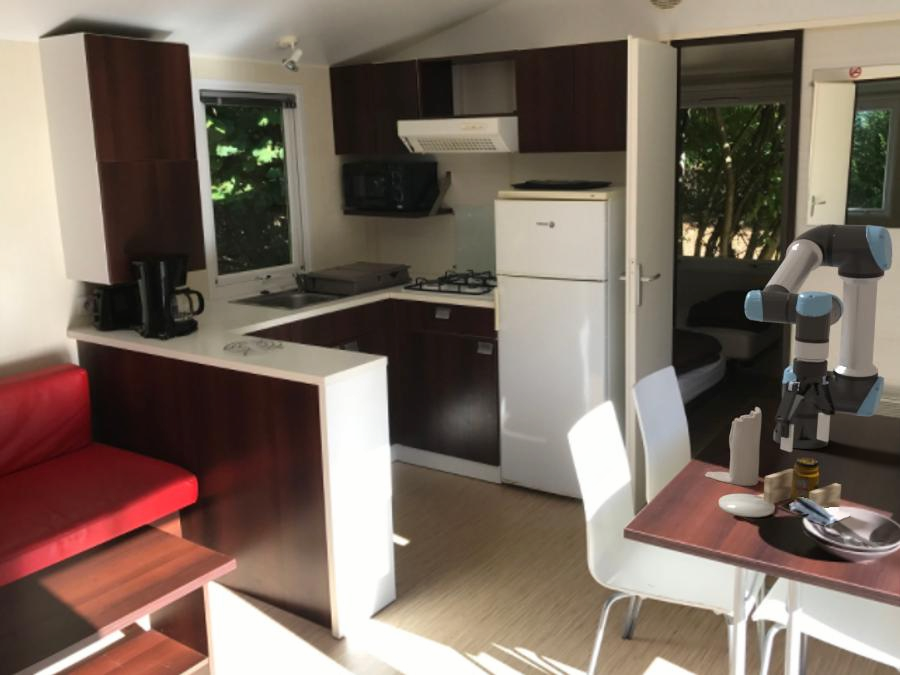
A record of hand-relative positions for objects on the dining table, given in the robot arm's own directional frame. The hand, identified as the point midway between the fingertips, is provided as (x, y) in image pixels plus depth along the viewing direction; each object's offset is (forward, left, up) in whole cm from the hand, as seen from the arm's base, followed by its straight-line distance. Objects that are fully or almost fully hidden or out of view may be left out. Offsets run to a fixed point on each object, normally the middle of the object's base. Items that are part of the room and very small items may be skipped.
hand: (804, 445), depth 218 cm
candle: (-2, -23, -16) cm, 28 cm away
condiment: (0, 0, -16) cm, 16 cm away
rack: (0, 0, -16) cm, 16 cm away
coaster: (+10, -8, -16) cm, 20 cm away
